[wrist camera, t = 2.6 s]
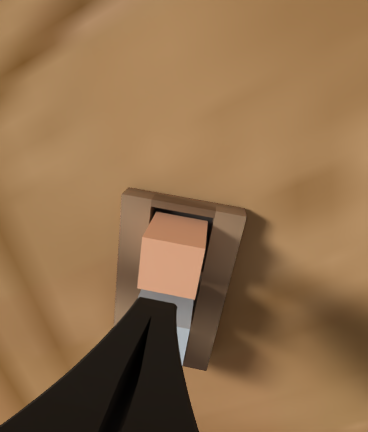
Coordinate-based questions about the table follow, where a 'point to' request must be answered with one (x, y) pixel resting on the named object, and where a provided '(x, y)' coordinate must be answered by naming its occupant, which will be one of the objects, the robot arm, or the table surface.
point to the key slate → (182, 315)
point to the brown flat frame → (211, 267)
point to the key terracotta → (172, 255)
